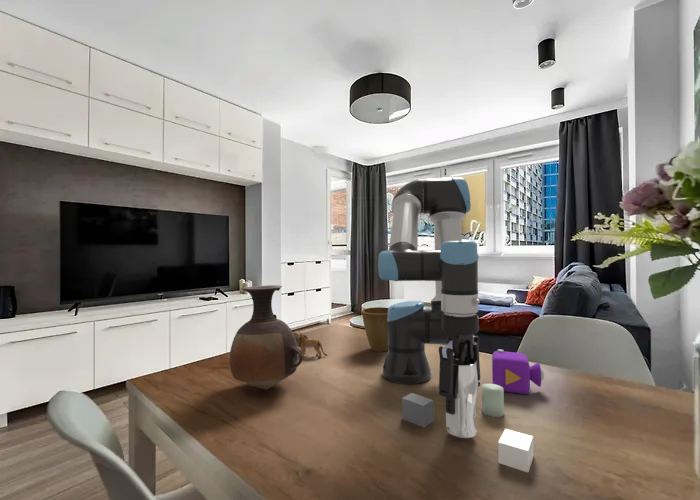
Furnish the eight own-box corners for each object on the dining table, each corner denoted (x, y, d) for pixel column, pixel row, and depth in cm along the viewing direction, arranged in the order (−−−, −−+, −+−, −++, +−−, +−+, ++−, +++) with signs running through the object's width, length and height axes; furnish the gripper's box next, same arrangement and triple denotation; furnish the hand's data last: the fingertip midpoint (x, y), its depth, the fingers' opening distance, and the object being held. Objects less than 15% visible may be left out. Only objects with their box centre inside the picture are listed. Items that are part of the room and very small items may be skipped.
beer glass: (478, 424, 75) (477, 356, 75) (479, 442, 68) (478, 367, 68) (445, 420, 77) (444, 353, 77) (443, 436, 70) (442, 364, 70)
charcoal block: (402, 419, 81) (402, 398, 81) (412, 413, 83) (411, 392, 84) (424, 428, 76) (423, 405, 76) (433, 421, 79) (433, 400, 79)
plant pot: (354, 349, 139) (354, 310, 139) (379, 342, 149) (378, 306, 149) (382, 357, 128) (381, 314, 128) (406, 349, 138) (405, 309, 138)
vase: (315, 389, 99) (314, 285, 99) (256, 412, 85) (255, 292, 85) (270, 371, 115) (269, 282, 115) (214, 388, 101) (213, 286, 101)
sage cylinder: (478, 412, 83) (477, 387, 84) (487, 405, 87) (486, 382, 87) (499, 419, 80) (498, 393, 80) (507, 411, 83) (506, 387, 84)
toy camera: (549, 398, 91) (549, 360, 91) (495, 394, 94) (494, 358, 94) (536, 383, 101) (535, 349, 102) (487, 380, 104) (487, 347, 104)
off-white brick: (528, 473, 60) (528, 451, 60) (498, 463, 63) (498, 442, 63) (533, 457, 65) (533, 436, 65) (505, 448, 68) (505, 428, 68)
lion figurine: (289, 356, 131) (289, 332, 131) (295, 352, 136) (295, 329, 137) (325, 358, 127) (324, 334, 127) (329, 354, 132) (329, 331, 132)
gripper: (453, 323, 63) (455, 447, 63) (495, 309, 77) (497, 411, 77) (418, 317, 68) (420, 432, 68) (464, 305, 82) (465, 401, 82)
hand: (461, 421), depth 72 cm, fingers closed on beer glass, 6 cm apart
